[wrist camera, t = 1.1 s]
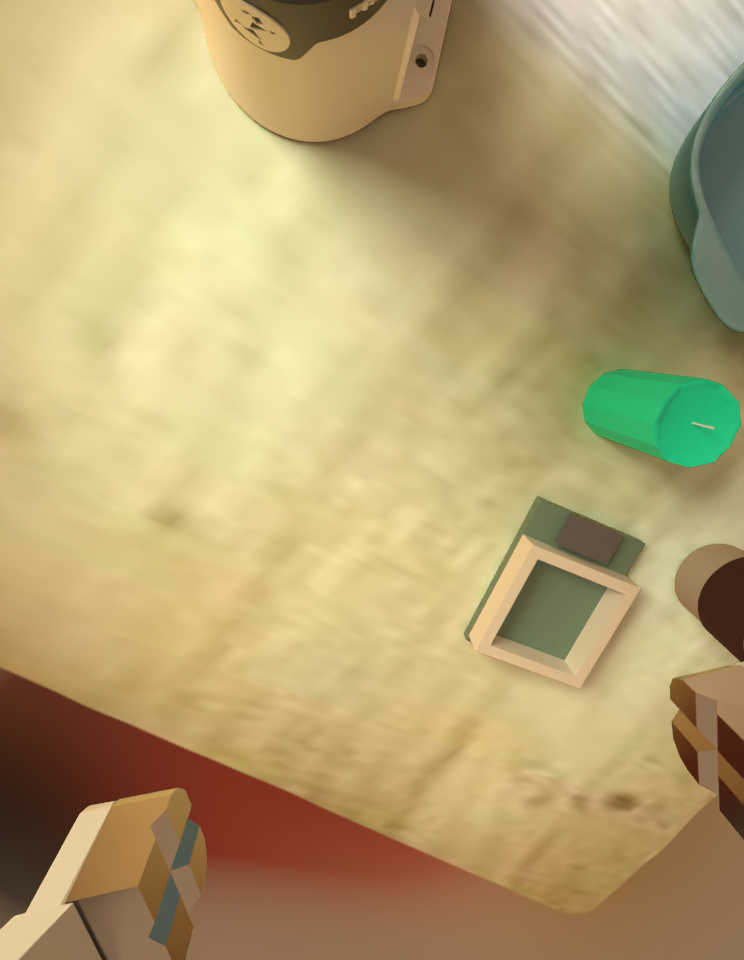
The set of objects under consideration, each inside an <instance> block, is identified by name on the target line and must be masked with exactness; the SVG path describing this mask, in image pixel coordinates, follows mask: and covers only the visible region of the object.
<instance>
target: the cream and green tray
mask: <svg viewBox="0 0 744 960" xmlns="http://www.w3.org/2000/svg"><path fill="white" fill-rule="evenodd" d="M644 545H645V543H643V542H642V541H641V540H639V539H637V538H634V537H632V536H630V535H627V534H625V533H623V532H620V531H618V530H616V529H613V528H611V527H608V526H606V525H604V524H601V523H599V522H597V521H594V520H592V519H590V518H587V517H585V516H583V515H580V514H578V513H575V512H573V511H571V510H568V509H566V508H564V507H561V506H559V505H557V504H554V503H552V502H550V501H547V500H545V499H543V498H540V497H538V496H537V498H536V500H535V501H534V503H533V505H532V507H531V509H530V511H529V513H528V515H527V516H526V518H525V520H524V522H523V524H522V526H521V528H520V530H519V531H518V533H517V535H516V537H515V539H514V541H513V543H512V545H511V546H510V548H509V550H508V552H507V554H506V556H505V558H504V560H503V561H502V563H501V565H500V567H499V569H498V571H497V573H496V575H495V576H494V578H493V580H492V582H491V584H490V586H489V588H488V590H487V592H486V593H485V595H484V597H483V599H482V601H481V603H480V605H479V607H478V608H477V610H476V612H475V614H474V616H473V618H472V620H471V622H470V623H469V625H468V627H467V629H466V631H465V633H464V636H465V638H466V640H468V641H471V642H472V644H473V646H474V649H475V651H477V652H480V653H482V654H485V655H488V656H491V657H494V658H496V659H499V660H502V661H505V662H507V663H510V664H513V665H516V666H519V667H521V668H524V669H527V670H530V671H532V672H535V673H538V674H541V675H544V676H546V677H549V678H552V679H555V680H558V681H560V682H563V683H566V684H569V685H571V686H574V687H577V688H580V687H581V686H582V684H583V683H584V681H585V679H586V678H587V676H588V674H589V673H590V671H591V669H592V668H593V666H594V665H595V663H596V661H597V660H598V658H599V656H600V655H601V653H602V651H603V650H604V648H605V646H606V645H607V643H608V642H609V640H610V638H611V637H612V635H613V633H614V632H615V630H616V628H617V627H618V625H619V624H620V622H621V620H622V619H623V617H624V615H625V614H626V612H627V610H628V609H629V607H630V606H631V604H632V602H633V601H634V599H635V597H636V596H637V594H638V592H639V591H640V589H641V588H639V587H638V586H637V585H636V584H635V583H633V582H632V581H631V580H630V579H629V578H627V577H626V575H627V573H628V571H629V570H630V568H631V566H632V565H633V563H634V561H635V560H636V558H637V556H638V555H639V553H640V551H641V550H642V548H643V546H644Z"/></svg>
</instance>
